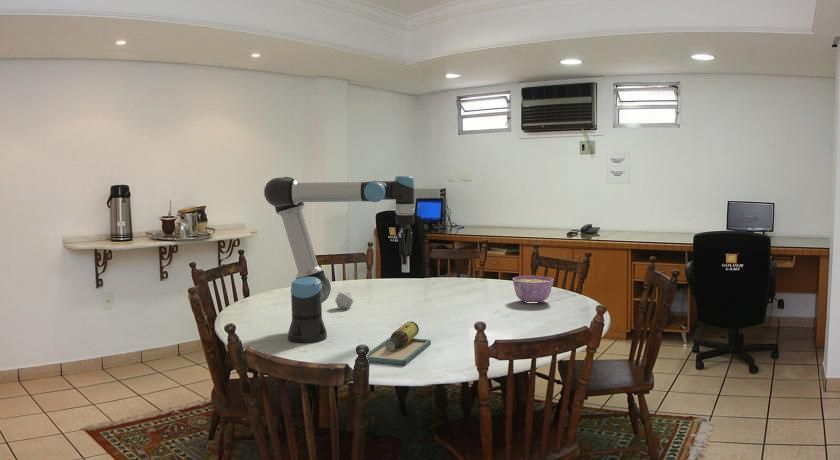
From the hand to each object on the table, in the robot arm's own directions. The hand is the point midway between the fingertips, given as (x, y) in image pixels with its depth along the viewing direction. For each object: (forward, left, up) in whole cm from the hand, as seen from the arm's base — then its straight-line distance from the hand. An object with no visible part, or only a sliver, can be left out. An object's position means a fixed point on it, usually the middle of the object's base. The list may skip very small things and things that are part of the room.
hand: (405, 271), depth 264 cm
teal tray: (-14, -29, -24) cm, 40 cm away
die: (-13, +51, -25) cm, 58 cm away
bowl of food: (+77, +29, -25) cm, 86 cm away
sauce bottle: (-3, -16, -19) cm, 25 cm away
